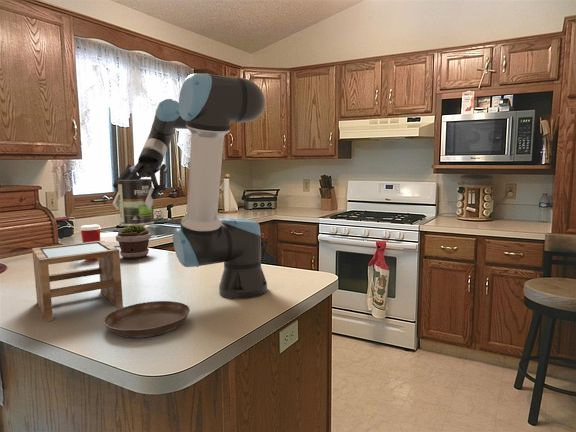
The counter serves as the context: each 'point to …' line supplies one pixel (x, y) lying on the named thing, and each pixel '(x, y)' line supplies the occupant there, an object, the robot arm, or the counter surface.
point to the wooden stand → (77, 275)
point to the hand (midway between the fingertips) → (131, 206)
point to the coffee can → (135, 202)
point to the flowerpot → (133, 242)
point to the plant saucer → (146, 319)
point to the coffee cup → (90, 235)
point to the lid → (72, 250)
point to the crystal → (110, 238)
